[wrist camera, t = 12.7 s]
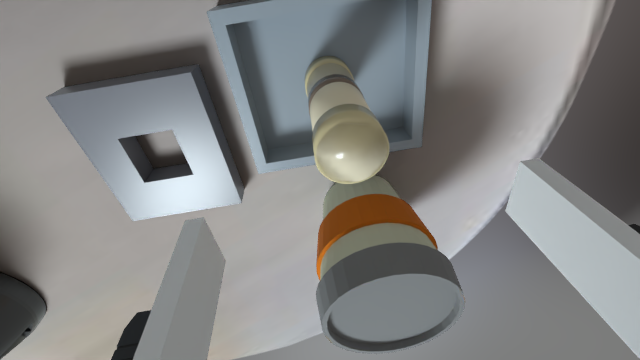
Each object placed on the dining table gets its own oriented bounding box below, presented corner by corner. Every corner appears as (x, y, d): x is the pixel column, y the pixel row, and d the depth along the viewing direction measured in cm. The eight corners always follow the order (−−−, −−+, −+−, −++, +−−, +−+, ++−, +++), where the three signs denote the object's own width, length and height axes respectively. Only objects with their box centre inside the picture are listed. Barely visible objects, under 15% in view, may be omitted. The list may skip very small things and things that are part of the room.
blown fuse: (352, 98, 28) (389, 177, 18) (308, 105, 28) (319, 189, 18) (348, 51, 26) (389, 112, 15) (300, 60, 26) (308, 125, 16)
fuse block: (244, 188, 34) (241, 203, 32) (141, 205, 35) (132, 220, 33) (198, 63, 26) (190, 72, 24) (64, 87, 26) (45, 97, 24)
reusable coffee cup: (323, 150, 32) (345, 262, 20) (426, 170, 35) (499, 279, 23) (298, 232, 39) (303, 352, 27) (386, 243, 42) (426, 357, 30)
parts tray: (409, 130, 32) (421, 146, 29) (261, 155, 32) (258, 173, 29) (416, -29, 24) (433, -28, 21) (216, 6, 24) (206, 11, 21)
